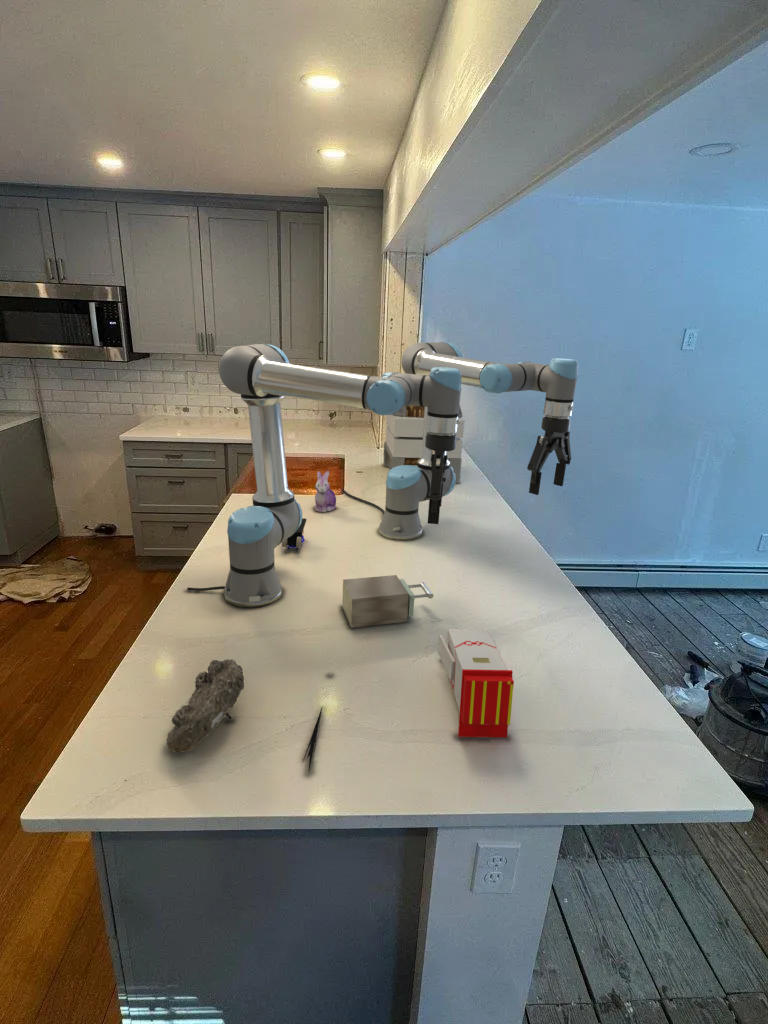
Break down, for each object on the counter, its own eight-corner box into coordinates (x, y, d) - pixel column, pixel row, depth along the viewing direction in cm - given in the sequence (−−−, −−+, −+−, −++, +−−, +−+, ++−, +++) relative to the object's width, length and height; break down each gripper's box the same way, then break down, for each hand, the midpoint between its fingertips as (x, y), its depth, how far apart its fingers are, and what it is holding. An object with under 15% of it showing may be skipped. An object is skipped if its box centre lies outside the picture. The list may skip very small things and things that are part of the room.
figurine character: (302, 558, 180) (307, 535, 193) (301, 537, 177) (307, 516, 190) (281, 557, 180) (287, 535, 193) (280, 537, 176) (287, 515, 190)
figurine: (318, 514, 215) (318, 476, 210) (309, 505, 223) (309, 469, 218) (341, 511, 219) (342, 473, 214) (331, 503, 227) (331, 467, 222)
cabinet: (394, 601, 154) (396, 574, 151) (406, 621, 144) (408, 593, 141) (342, 606, 150) (342, 579, 147) (351, 627, 140) (351, 599, 137)
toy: (488, 613, 130) (523, 677, 101) (484, 667, 133) (517, 744, 104) (435, 612, 130) (455, 676, 101) (432, 666, 133) (451, 743, 103)
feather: (331, 679, 122) (336, 673, 122) (307, 777, 96) (313, 769, 95) (324, 675, 122) (329, 669, 121) (298, 772, 95) (304, 764, 95)
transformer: (382, 463, 289) (386, 382, 275) (445, 464, 293) (451, 384, 279) (390, 482, 257) (394, 392, 243) (460, 483, 261) (468, 394, 247)
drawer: (422, 596, 155) (423, 576, 153) (434, 614, 146) (435, 593, 144) (354, 603, 150) (354, 582, 148) (362, 621, 141) (363, 600, 139)
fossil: (192, 660, 117) (244, 628, 112) (224, 691, 120) (276, 661, 115) (142, 746, 98) (202, 712, 93) (182, 779, 101) (242, 748, 96)
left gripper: (455, 445, 126) (447, 533, 134) (457, 424, 150) (450, 500, 157) (422, 442, 127) (415, 530, 135) (429, 422, 151) (423, 498, 158)
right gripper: (545, 423, 146) (534, 501, 154) (590, 414, 163) (578, 484, 170) (520, 418, 151) (511, 494, 159) (566, 410, 168) (556, 478, 175)
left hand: (434, 514), depth 146 cm, fingers open, 13 cm apart
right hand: (546, 489), depth 165 cm, fingers open, 13 cm apart
